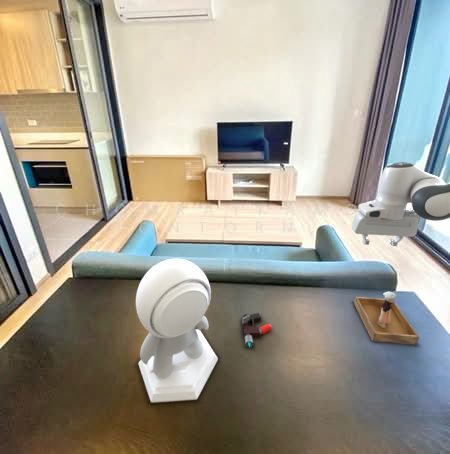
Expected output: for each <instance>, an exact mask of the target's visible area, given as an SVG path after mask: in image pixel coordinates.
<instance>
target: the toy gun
mask: <svg viewBox="0 0 450 454" xmlns="http://www.w3.org/2000/svg"><path fill="white" fill-rule="evenodd" d="M261 320H262V319H261V313H260V312H256V313H252V314H246V313H245V314H243V315H242V318H241V324H242V325H243V326H242V327H243V337H244V345H245V347H249V348H251V347H253V346H254V339H255V338H261V335H264V334H267V333H268V332H271V331H272V325H271V324H270V323H267V324H264V325H262V326H261V327H258V326H255V323H258V322H261ZM249 324H250V325H249Z"/></svg>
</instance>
